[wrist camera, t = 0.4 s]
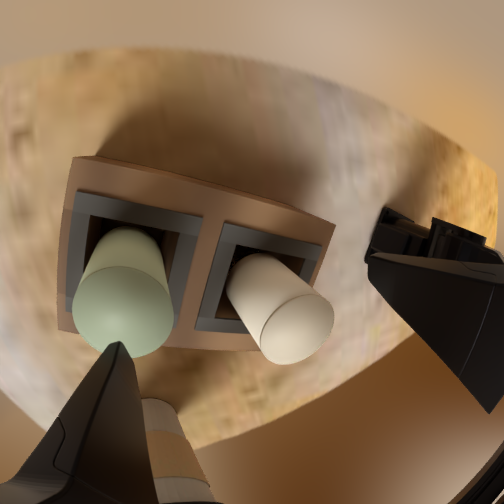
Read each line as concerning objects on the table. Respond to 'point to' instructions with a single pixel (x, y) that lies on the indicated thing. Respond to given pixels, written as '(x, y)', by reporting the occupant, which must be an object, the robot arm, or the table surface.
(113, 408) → the robot arm
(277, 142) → the table surface
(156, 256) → the sage peg
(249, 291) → the cream peg
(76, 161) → the walnut block
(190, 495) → the coffee cup
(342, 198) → the table surface
